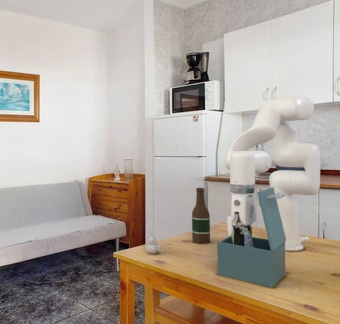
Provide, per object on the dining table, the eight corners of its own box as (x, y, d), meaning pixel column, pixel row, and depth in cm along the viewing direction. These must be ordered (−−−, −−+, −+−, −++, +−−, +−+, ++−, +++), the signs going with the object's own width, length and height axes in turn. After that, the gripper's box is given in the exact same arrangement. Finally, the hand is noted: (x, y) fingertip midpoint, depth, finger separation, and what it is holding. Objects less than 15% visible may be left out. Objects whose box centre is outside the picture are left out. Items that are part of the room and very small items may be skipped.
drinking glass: (245, 253, 133) (245, 215, 132) (247, 258, 126) (247, 218, 126) (226, 251, 135) (226, 214, 134) (227, 257, 128) (227, 218, 128)
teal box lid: (257, 192, 102) (274, 189, 98) (270, 187, 111) (287, 185, 108) (270, 250, 100) (289, 249, 96) (283, 240, 110) (301, 239, 106)
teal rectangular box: (217, 274, 112) (217, 242, 111) (233, 263, 121) (233, 233, 121) (272, 287, 100) (272, 251, 100) (285, 274, 110) (285, 241, 109)
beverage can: (258, 267, 109) (257, 230, 108) (234, 266, 110) (233, 230, 110) (253, 261, 115) (252, 226, 114) (230, 260, 116) (229, 226, 116)
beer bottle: (212, 240, 152) (211, 187, 151) (208, 244, 145) (207, 189, 144) (194, 238, 156) (193, 186, 155) (189, 242, 149) (188, 188, 148)
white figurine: (147, 250, 139) (146, 231, 139) (163, 252, 137) (162, 232, 137) (144, 254, 134) (143, 234, 134) (160, 256, 132) (160, 236, 132)
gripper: (244, 193, 103) (245, 251, 103) (263, 187, 115) (263, 239, 116) (220, 191, 108) (221, 247, 108) (240, 186, 120) (241, 236, 121)
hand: (243, 243), depth 112 cm, fingers closed on beverage can, 6 cm apart
